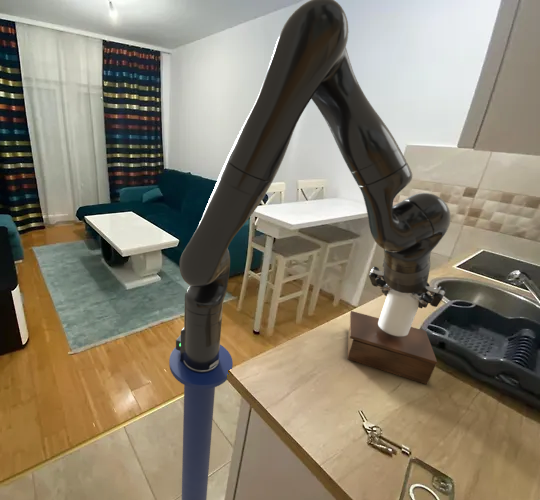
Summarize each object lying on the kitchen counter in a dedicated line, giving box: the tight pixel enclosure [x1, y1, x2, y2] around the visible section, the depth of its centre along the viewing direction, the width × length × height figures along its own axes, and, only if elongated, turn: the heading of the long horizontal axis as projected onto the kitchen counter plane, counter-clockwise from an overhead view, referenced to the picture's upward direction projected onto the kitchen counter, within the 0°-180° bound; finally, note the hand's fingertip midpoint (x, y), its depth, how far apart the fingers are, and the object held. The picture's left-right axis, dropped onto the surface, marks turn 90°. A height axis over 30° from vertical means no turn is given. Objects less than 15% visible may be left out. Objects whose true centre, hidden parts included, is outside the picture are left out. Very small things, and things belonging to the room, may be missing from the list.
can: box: [378, 290, 419, 337], centre depth 70 cm, size 6×6×12 cm
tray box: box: [347, 327, 437, 385], centre depth 75 cm, size 17×13×6 cm
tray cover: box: [349, 310, 438, 365], centre depth 73 cm, size 17×13×1 cm
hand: (404, 298), depth 70 cm, fingers closed on can, 6 cm apart
